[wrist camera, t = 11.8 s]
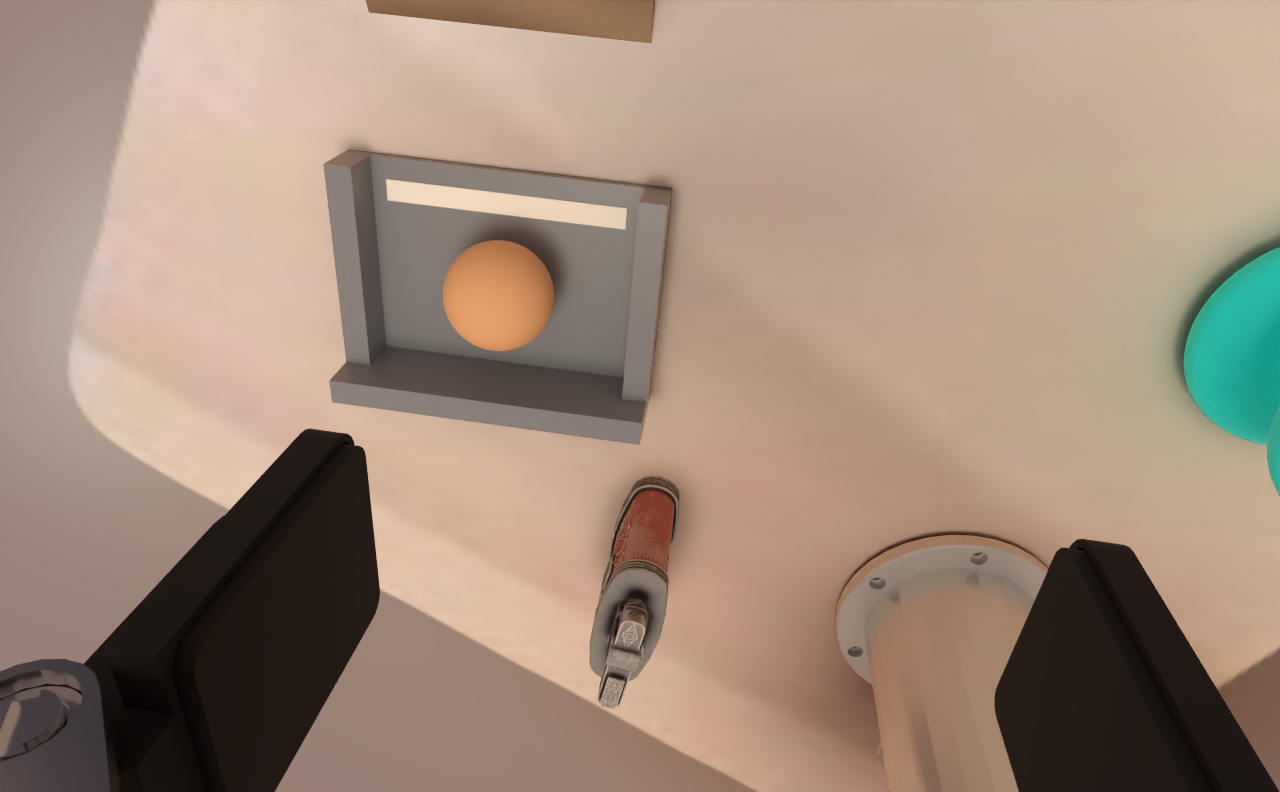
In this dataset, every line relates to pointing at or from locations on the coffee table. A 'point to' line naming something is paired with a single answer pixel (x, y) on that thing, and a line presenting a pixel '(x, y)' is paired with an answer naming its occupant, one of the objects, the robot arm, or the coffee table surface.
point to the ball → (498, 295)
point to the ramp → (537, 15)
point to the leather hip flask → (634, 587)
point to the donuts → (1241, 356)
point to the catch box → (465, 216)
